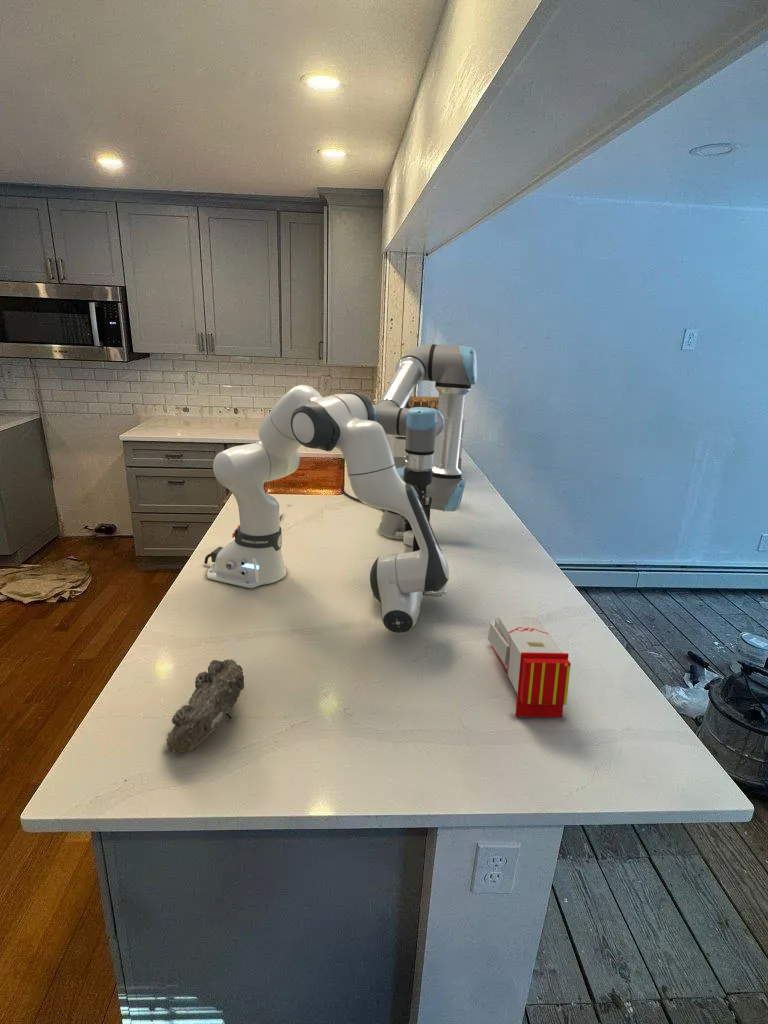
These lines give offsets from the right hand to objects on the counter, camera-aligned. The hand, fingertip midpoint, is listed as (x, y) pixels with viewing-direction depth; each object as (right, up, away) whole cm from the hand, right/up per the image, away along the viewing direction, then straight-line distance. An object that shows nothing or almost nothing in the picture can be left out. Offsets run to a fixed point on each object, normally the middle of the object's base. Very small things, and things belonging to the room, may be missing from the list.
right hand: (413, 549), depth 156 cm
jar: (-1, -12, +4) cm, 13 cm away
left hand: (0, -6, +3) cm, 6 cm away
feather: (-46, +8, +54) cm, 72 cm away
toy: (+22, -26, -31) cm, 46 cm away
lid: (0, +4, -1) cm, 4 cm away
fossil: (-41, -29, -47) cm, 69 cm away
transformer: (+9, +29, +119) cm, 123 cm away
